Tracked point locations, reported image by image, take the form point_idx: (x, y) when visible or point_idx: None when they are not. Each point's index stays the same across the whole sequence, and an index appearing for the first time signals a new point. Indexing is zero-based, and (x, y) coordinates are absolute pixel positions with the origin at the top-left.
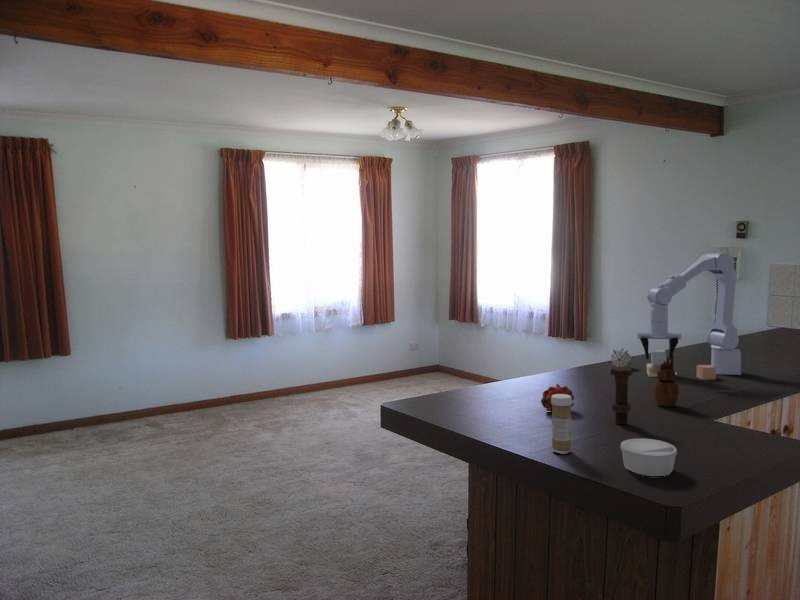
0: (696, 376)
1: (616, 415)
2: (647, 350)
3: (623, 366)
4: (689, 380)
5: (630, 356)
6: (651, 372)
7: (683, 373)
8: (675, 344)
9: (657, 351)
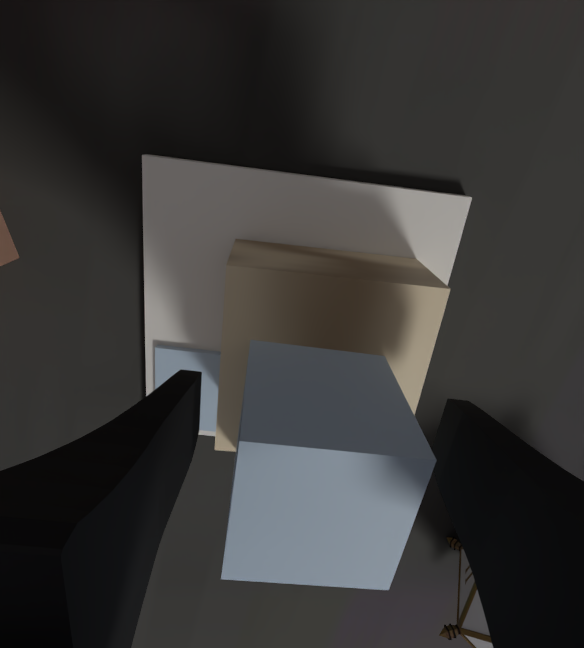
0: (5, 263)
1: None
2: (528, 462)
3: None
4: (81, 193)
5: (479, 633)
6: (407, 267)
7: None
8: (8, 480)
9: (347, 483)
